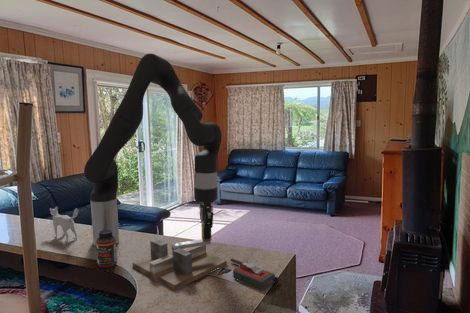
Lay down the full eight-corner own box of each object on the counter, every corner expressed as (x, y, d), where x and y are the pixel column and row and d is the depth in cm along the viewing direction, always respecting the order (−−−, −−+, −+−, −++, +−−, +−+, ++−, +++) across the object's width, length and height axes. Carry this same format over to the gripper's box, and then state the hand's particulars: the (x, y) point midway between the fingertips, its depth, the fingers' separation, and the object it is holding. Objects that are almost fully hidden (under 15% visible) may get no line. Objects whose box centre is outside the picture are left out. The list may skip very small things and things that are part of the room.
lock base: (132, 266, 111) (131, 244, 110) (183, 247, 127) (182, 227, 126) (175, 290, 97) (174, 264, 95) (226, 264, 112) (226, 242, 111)
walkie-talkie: (283, 281, 101) (233, 262, 115) (283, 267, 101) (232, 249, 114) (265, 293, 95) (214, 271, 108) (265, 278, 94) (214, 258, 108)
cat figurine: (59, 232, 144) (56, 199, 143) (85, 242, 133) (83, 206, 131) (48, 235, 141) (45, 201, 139) (74, 245, 129) (71, 209, 127)
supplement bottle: (96, 269, 110) (94, 235, 108) (98, 261, 115) (96, 229, 114) (116, 267, 111) (114, 233, 110) (117, 259, 117) (115, 227, 115)
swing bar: (172, 250, 108) (171, 228, 107) (170, 246, 111) (169, 225, 110) (212, 244, 113) (212, 223, 112) (210, 240, 116) (209, 220, 115)
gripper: (221, 190, 105) (221, 243, 107) (213, 179, 118) (213, 227, 121) (197, 191, 103) (197, 246, 106) (191, 180, 116) (192, 229, 119)
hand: (206, 236), depth 113 cm, fingers closed on swing bar, 3 cm apart
